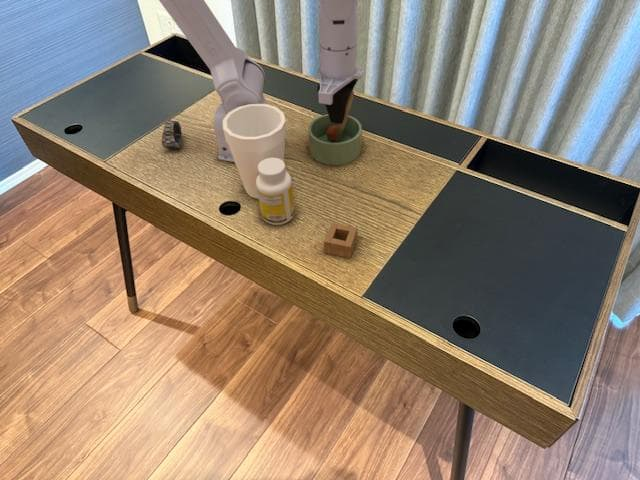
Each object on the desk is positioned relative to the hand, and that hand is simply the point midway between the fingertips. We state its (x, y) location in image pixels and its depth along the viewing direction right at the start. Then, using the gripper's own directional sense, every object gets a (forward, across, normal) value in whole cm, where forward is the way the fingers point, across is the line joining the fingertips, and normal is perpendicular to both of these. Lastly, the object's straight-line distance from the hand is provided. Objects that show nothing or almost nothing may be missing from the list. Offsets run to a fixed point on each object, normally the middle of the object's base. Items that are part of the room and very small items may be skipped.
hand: (338, 119), depth 84 cm
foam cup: (+7, -13, +9) cm, 17 cm away
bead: (+4, +2, +1) cm, 5 cm away
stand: (+6, -23, -7) cm, 24 cm away
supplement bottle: (+7, -19, +5) cm, 20 cm away
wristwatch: (+7, -7, +30) cm, 31 cm away
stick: (+4, 0, 0) cm, 4 cm away
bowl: (+6, 0, +1) cm, 6 cm away
